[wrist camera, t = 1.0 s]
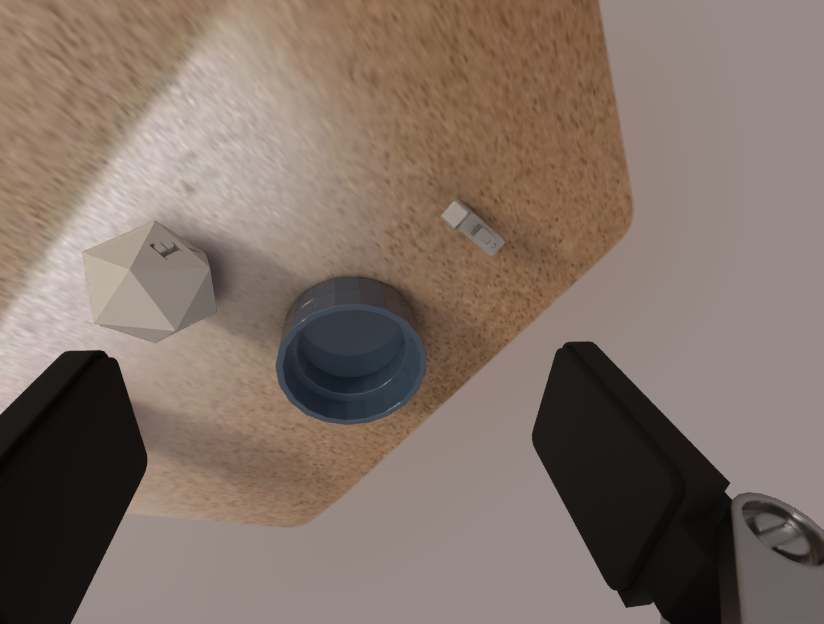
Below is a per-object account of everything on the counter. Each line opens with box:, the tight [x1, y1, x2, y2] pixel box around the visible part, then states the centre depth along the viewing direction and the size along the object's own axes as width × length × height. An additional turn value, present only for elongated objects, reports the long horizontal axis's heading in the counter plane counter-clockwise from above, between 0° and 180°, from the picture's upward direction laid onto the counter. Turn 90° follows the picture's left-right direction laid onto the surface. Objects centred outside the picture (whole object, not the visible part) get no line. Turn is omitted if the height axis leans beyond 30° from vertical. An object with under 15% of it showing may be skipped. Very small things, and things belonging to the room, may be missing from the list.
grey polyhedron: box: [82, 221, 217, 343], centre depth 33 cm, size 8×9×10 cm
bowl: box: [276, 277, 426, 425], centre depth 40 cm, size 13×13×6 cm
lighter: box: [440, 199, 505, 256], centre depth 34 cm, size 7×2×8 cm, turn 50°
